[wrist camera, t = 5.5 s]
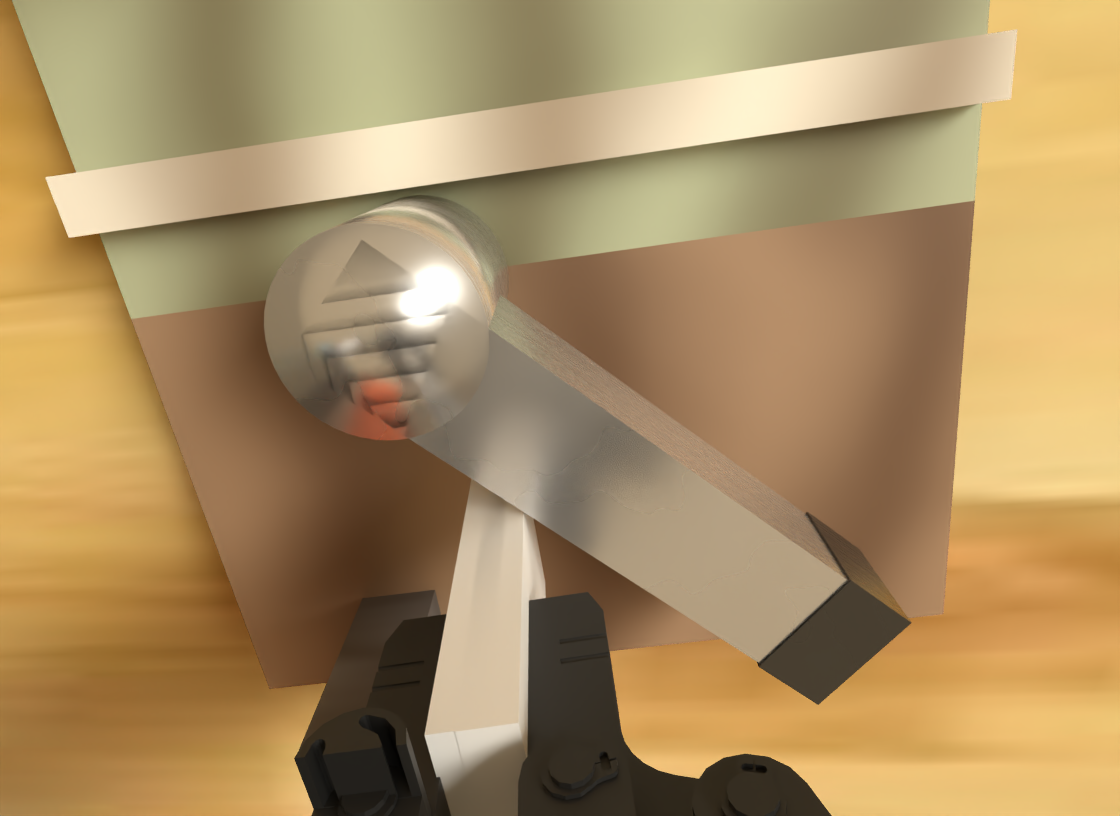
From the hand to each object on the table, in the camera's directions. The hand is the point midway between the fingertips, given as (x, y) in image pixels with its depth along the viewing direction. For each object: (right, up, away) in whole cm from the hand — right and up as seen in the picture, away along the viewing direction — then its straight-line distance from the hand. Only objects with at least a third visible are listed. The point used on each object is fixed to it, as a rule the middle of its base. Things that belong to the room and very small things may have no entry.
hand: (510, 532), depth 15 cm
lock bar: (+2, +3, +2) cm, 4 cm away
